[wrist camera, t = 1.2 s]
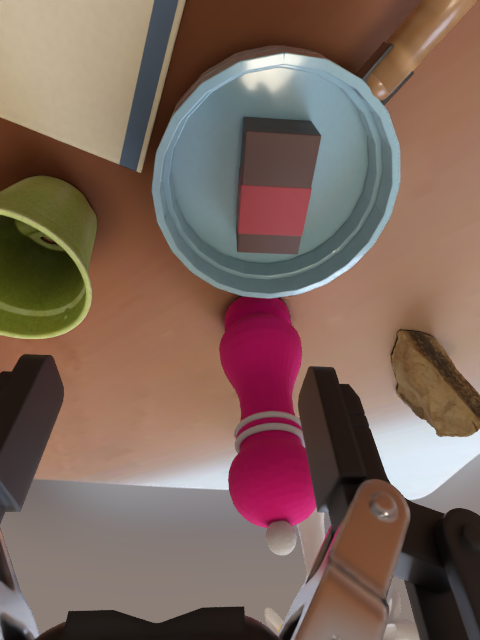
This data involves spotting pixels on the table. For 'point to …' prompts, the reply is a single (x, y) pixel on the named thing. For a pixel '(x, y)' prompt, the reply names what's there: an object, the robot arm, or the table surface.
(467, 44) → the table surface
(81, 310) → the plant pot
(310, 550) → the flower vase
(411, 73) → the pan handle
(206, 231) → the pan
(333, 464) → the robot arm
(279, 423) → the pepper mill
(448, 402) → the rock
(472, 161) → the table surface
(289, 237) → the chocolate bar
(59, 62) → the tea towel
